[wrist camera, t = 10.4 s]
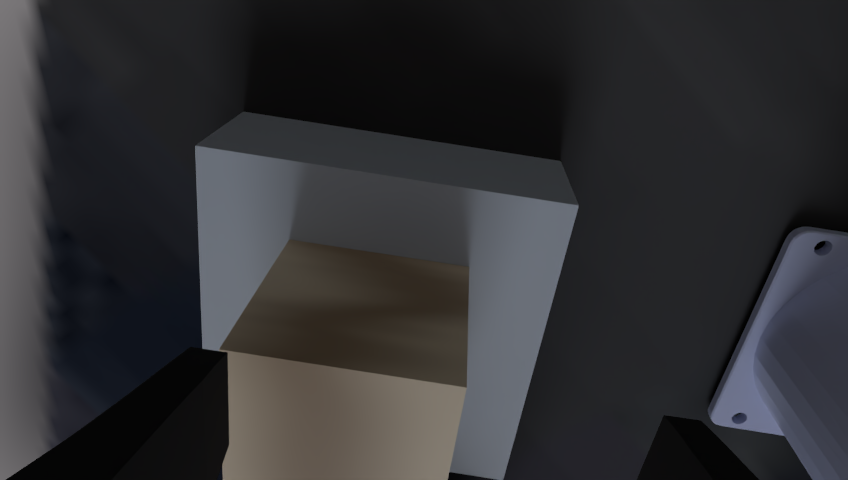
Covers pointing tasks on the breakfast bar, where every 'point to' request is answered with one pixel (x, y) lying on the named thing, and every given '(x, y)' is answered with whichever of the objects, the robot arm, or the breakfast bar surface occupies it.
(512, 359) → the grey base block
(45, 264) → the breakfast bar surface
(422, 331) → the maple cube
